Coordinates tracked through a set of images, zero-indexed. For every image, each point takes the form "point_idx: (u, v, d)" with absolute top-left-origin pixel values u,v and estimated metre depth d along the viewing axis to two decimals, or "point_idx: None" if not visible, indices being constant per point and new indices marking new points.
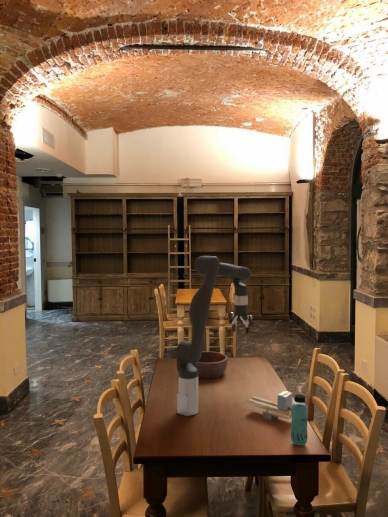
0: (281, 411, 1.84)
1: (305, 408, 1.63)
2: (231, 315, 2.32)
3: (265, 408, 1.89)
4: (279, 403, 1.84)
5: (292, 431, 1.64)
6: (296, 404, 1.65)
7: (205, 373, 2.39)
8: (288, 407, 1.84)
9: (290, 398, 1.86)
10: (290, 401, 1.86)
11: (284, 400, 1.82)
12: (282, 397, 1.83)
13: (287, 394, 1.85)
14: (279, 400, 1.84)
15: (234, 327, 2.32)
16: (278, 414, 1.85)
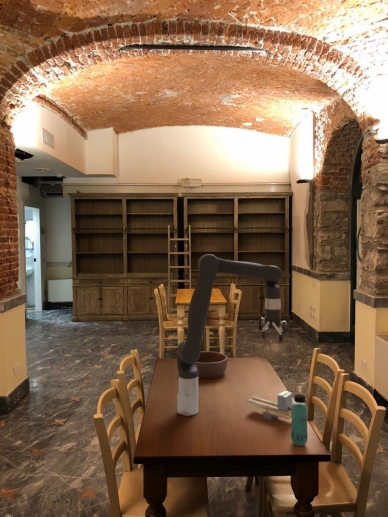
0: (281, 411, 1.84)
1: (305, 408, 1.63)
2: (261, 321, 2.03)
3: (265, 408, 1.89)
4: (279, 403, 1.84)
5: (292, 431, 1.64)
6: (296, 404, 1.65)
7: (205, 373, 2.39)
8: (288, 407, 1.84)
9: (290, 398, 1.86)
10: (290, 401, 1.86)
11: (284, 400, 1.82)
12: (282, 397, 1.83)
13: (287, 394, 1.85)
14: (279, 400, 1.84)
15: (265, 334, 2.03)
16: (278, 414, 1.85)
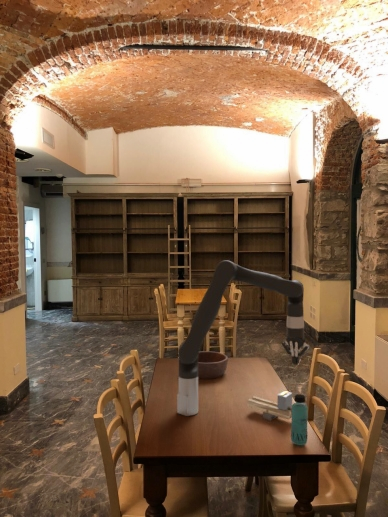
0: (281, 411, 1.84)
1: (305, 408, 1.63)
2: (285, 344, 1.87)
3: (265, 408, 1.89)
4: (279, 403, 1.84)
5: (292, 431, 1.64)
6: (296, 404, 1.65)
7: (205, 373, 2.39)
8: (288, 407, 1.84)
9: (290, 398, 1.86)
10: (290, 401, 1.86)
11: (284, 400, 1.82)
12: (282, 397, 1.83)
13: (287, 394, 1.85)
14: (279, 400, 1.84)
15: None
16: (278, 414, 1.85)
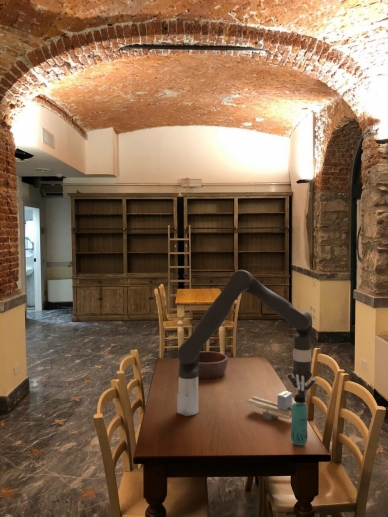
0: (281, 411, 1.84)
1: (305, 408, 1.63)
2: (291, 376, 1.82)
3: (265, 408, 1.89)
4: (279, 403, 1.84)
5: (292, 431, 1.64)
6: (296, 404, 1.65)
7: (205, 373, 2.39)
8: (288, 407, 1.84)
9: (290, 398, 1.86)
10: (290, 401, 1.86)
11: (284, 400, 1.82)
12: (282, 397, 1.83)
13: (287, 394, 1.85)
14: (279, 400, 1.84)
15: None
16: (278, 414, 1.85)
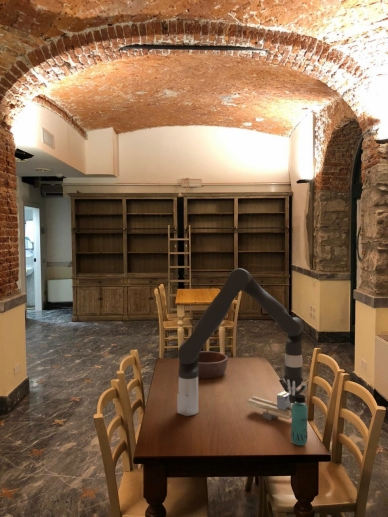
0: (281, 411, 1.84)
1: (305, 408, 1.63)
2: (282, 381, 1.85)
3: (265, 408, 1.89)
4: (278, 402, 1.84)
5: (292, 431, 1.64)
6: (296, 404, 1.65)
7: (205, 373, 2.39)
8: (287, 407, 1.84)
9: None
10: (289, 401, 1.86)
11: (283, 400, 1.83)
12: (281, 397, 1.83)
13: (286, 394, 1.85)
14: (278, 400, 1.84)
15: None
16: (278, 414, 1.85)
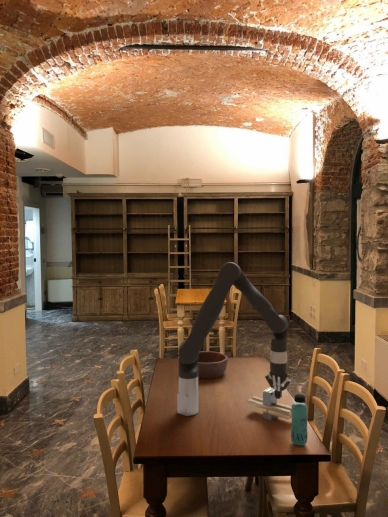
0: (281, 411, 1.84)
1: (305, 408, 1.63)
2: (268, 377, 1.89)
3: (265, 408, 1.89)
4: (264, 398, 1.89)
5: (292, 431, 1.64)
6: (296, 404, 1.65)
7: (205, 373, 2.39)
8: (273, 403, 1.89)
9: None
10: (275, 397, 1.90)
11: (269, 396, 1.87)
12: (267, 393, 1.88)
13: (272, 390, 1.90)
14: (264, 396, 1.89)
15: None
16: (278, 414, 1.85)
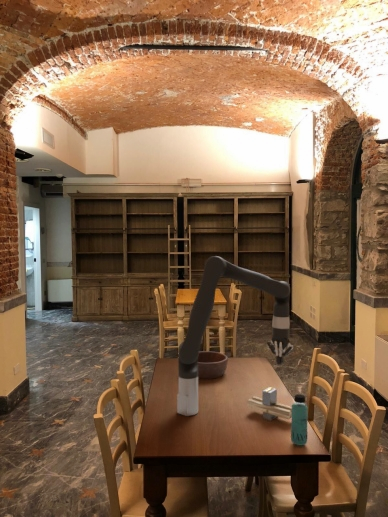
0: (281, 411, 1.84)
1: (305, 408, 1.63)
2: (270, 343, 1.90)
3: (265, 408, 1.89)
4: (264, 398, 1.89)
5: (292, 431, 1.64)
6: (296, 404, 1.65)
7: (205, 373, 2.39)
8: (273, 403, 1.89)
9: (275, 394, 1.90)
10: (275, 397, 1.90)
11: (269, 396, 1.87)
12: (267, 393, 1.88)
13: (272, 390, 1.90)
14: (264, 396, 1.89)
15: None
16: (278, 414, 1.85)
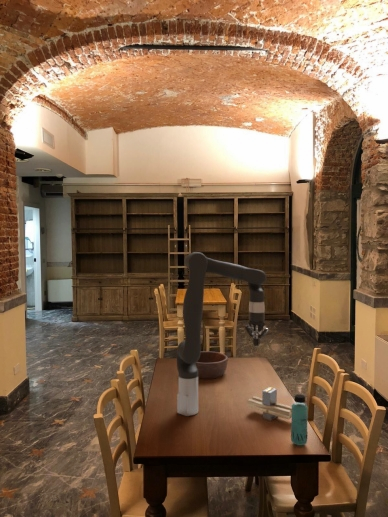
0: (281, 411, 1.84)
1: (305, 408, 1.63)
2: (247, 327, 2.06)
3: (265, 408, 1.89)
4: (264, 398, 1.89)
5: (292, 431, 1.64)
6: (296, 404, 1.65)
7: (205, 373, 2.39)
8: (273, 403, 1.89)
9: (275, 394, 1.90)
10: (275, 397, 1.90)
11: (269, 396, 1.87)
12: (267, 393, 1.88)
13: (272, 390, 1.90)
14: (264, 396, 1.89)
15: None
16: (278, 414, 1.85)
